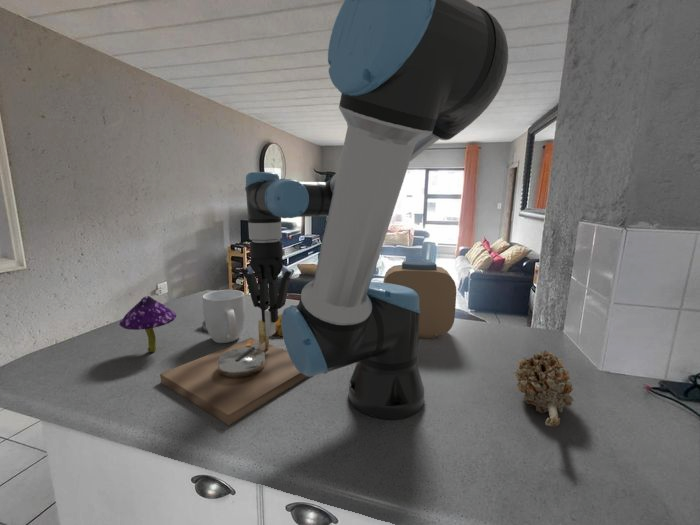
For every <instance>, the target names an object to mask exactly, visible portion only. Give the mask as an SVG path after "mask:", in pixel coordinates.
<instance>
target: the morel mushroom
mask: <svg viewBox="0 0 700 525" xmlns="http://www.w3.org/2000/svg"><path fill="white" fill-rule="evenodd" d="M517 362H518V365H517V367H518V369H517V368H516V369H517V370H516V371H515V372H514V376H515V377H516V380H517V381H518V382H517V383H516V386H517V387H518V391H519V392H521V393H524V394H523V395H524V397H523V398H524V400H525V401H526V403H527V404H530V405H533V406H535V412H539V414H544V413H546V412H548V415H549V417H547V419H546V420H545V426H549V427H557V426H559V424H560V421H561V417H559V413H558V411H559V412H560V413H562V412H563V408H564V407H566V406H567V407H568V406H571V405H573V403H572V402H574V401H575V399H574V397H573V396H571V395H570V394H571V393H572V391H573V390H574V388H573V383H572V382H570V381H569V380H570V379H571V375H570V373H569V369H567V368H566V369H565V368H564V364H563V361H562V359H560V358H558V357H556V355H555V354H554V353H552V352H550V351H548V350H543V351H542V350H541V351H540V352H539V353H533V356H531V357H530V358H526V357H524V356H523V357H522V358H521V359H519V361H517Z"/></svg>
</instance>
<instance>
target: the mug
mask: <svg viewBox="0 0 700 525" xmlns="http://www.w3.org/2000/svg"><path fill="white" fill-rule="evenodd" d="M245 302H246V301H245V293H244V292H243V291H241V290H237V289H222V290H214V291H209V292H207V293H204V294H203V295H202V309H203V318H204V320H205V324H206V327H207V330H208V331H207V332H208V336H210V338H211V339H212V340H213V342H215V343H218V344H228V343H231V342H235V341H236V340H238V339H239V338H240V336H241V334H242V332H243V329H244V326H245V321H246V320H245V319H246V303H245Z"/></svg>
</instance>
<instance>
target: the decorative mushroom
mask: <svg viewBox="0 0 700 525" xmlns="http://www.w3.org/2000/svg"><path fill="white" fill-rule="evenodd" d="M176 318H177V314H176V312H174V311H173V310H172V309H170V308H169V307H168V306H166V305H164V304H163V303H161V302H159V301H158V300H156V299H154V298H153V297H151V296H149V295H144V296H143V297H142V298H141V299H140V301H139V302H137V303H136V304H135V305H134V306H133V307H132V308H130V309H129V311H128V312H127V313H126V314H125V315H124V317H123V318H122V319H121V320H120V322H119V326H120V327H122V328H123V329H126V330H130V331H131V330H133V331H136V330H137V331H138V330H145V333H146V335H147V340H148V347H147V352H150V353H153V352H156V351H157V344H156V343H157V339H156V334H155V331H154V329H155V328H159V327H162V326H165V325H167V324H170V323H172V322H174V320H175V319H176Z"/></svg>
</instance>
